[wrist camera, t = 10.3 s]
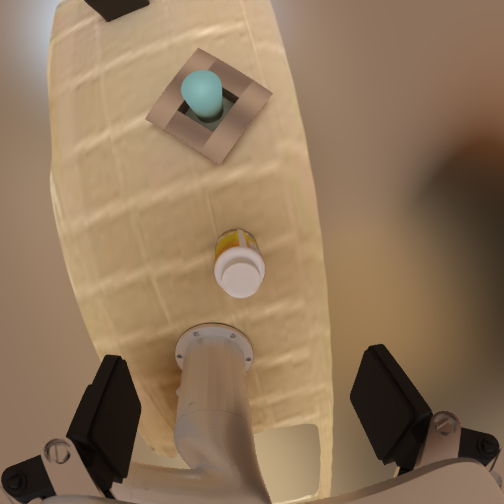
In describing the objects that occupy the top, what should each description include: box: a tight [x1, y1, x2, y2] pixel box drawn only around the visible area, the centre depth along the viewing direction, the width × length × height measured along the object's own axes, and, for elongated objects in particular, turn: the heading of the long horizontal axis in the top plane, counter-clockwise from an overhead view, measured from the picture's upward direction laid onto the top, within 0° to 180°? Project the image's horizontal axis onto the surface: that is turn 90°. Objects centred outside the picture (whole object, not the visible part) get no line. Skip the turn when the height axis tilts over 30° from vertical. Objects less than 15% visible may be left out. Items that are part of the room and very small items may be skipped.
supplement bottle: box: [214, 229, 265, 298], centre depth 33 cm, size 6×6×10 cm
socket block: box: [145, 48, 273, 165], centre depth 29 cm, size 10×10×5 cm
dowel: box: [181, 70, 223, 123], centre depth 26 cm, size 3×3×12 cm
